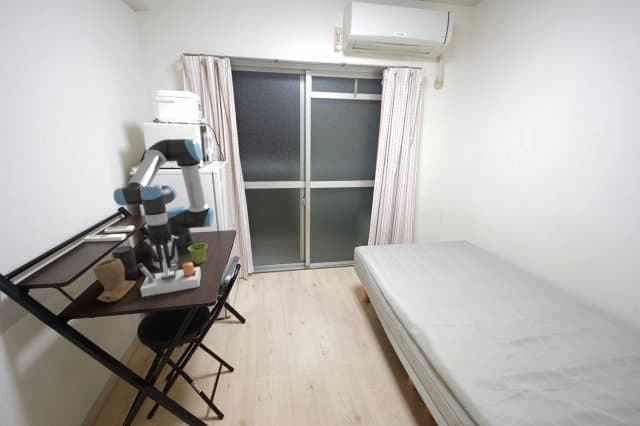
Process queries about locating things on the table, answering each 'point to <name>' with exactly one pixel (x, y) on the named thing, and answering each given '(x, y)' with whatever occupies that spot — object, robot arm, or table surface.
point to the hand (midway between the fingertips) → (167, 275)
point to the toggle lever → (144, 270)
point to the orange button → (188, 269)
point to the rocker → (171, 272)
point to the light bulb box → (164, 254)
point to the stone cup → (112, 280)
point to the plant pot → (198, 252)
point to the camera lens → (127, 261)
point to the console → (170, 283)
